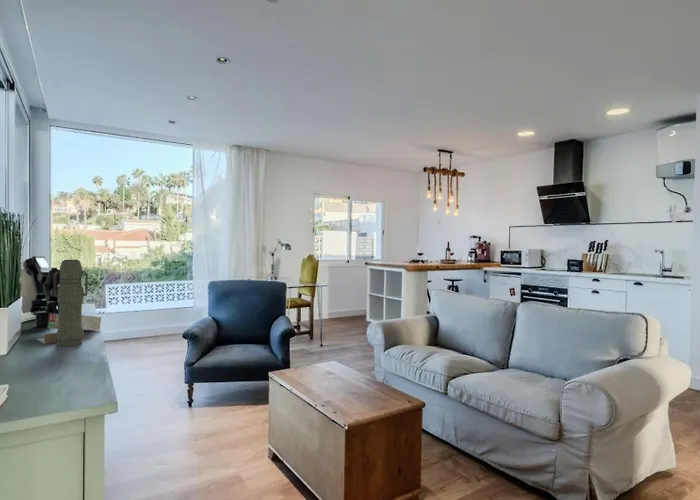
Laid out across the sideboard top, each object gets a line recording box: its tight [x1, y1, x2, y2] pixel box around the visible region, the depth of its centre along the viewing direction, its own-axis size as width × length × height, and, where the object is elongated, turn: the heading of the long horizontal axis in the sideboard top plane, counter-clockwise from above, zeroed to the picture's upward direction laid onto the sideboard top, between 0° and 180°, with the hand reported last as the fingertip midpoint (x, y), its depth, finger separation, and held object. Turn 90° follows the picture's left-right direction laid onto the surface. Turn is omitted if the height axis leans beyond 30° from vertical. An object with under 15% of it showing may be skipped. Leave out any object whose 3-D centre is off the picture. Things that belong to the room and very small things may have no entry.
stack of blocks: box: [46, 314, 102, 331], centre depth 187 cm, size 21×6×12 cm
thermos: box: [53, 259, 89, 348], centre depth 169 cm, size 9×12×35 cm
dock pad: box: [37, 329, 85, 345], centre depth 178 cm, size 11×14×4 cm
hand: (59, 318), depth 186 cm, fingers closed
